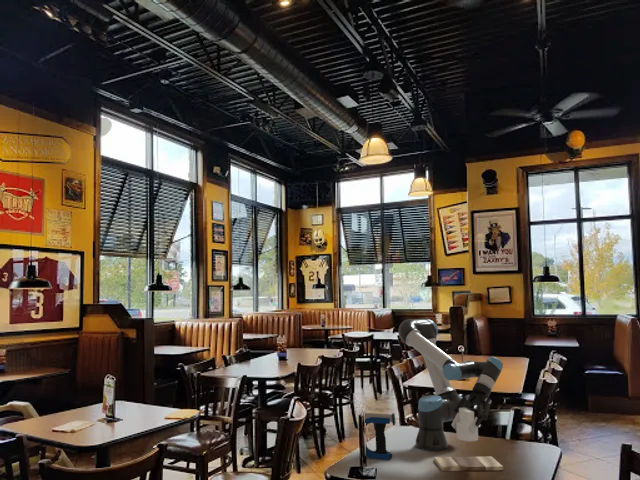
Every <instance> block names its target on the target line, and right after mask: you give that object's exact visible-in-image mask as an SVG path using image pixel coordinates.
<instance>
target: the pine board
mask: <svg viewBox="0 0 640 480" xmlns="http://www.w3.org/2000/svg"><path fill="white" fill-rule="evenodd" d="M433 461H434V463H435V464H436V466H438V467H439V469H440V470H441V471H442V472H469V471H472V472H473V471H474V472H476V471H504V465H502V464H501V463H500V462H499V461H497V460H496V459H495V458H494V457H493V456H489V455H488V456H487V455H486V456H484V455H483V456H434V457H433Z"/></svg>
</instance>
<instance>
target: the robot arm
mask: <svg viewBox="0 0 640 480" xmlns="http://www.w3.org/2000/svg"><path fill="white" fill-rule="evenodd" d="M397 330H398V336H399V338H400V340H401V341H402V342H403V343H404V344H406V345H407V346H408V347H412V348H414V349H415V350H416V351H417V352H419V354H421V355H422V358H423V360H424V363H425V366H426V369H427V372H428V375H429V377H430V380H431V382H432V383H431V384H432V385H433V386H432V387H433V390H434V391H435V393H434V394H430V395H424V396H421V397H420V398H419V399H418V406H417V410H418V432H417V435H416V439H415V447H416V448H417V449H420V450H423V451H429V452H440V451H445V450H447V449H448V441H447V438H446V435H445V432H444V423H447V422H452V423H451V426H452V428H453V429H454V430H456V423H457V422H459V408H467V409H470V408H471V407H473V406H476V407H477V416H474V421H473V423H472V425H471V427H470V429H469V430H470V431H471V432H472V433H473V434H474V433H475V431H476V429H477V426H478V428H479V427H480V425H481V423H482V421H487V420H488V417H489V413H490V408H491V406H492V404H493V401H492V400H491V397H490V395H491V394H492V391H493V389H494V386H495V385H496V382H497V381H498V379H499V376H500V375H501V372H502V370H503V369H504V364H503V362H502V361H501V360H500V359H499V358H497V357H495V356H490V357H488V358H487V359H486V361H479V360H478V361H477V360H464V361H463V362H458V361H456V359H454V358H453V357H451V356H450V355H448V354H447V353H445V352H444V350H442V349H441V348H439V347H437V344H436V343H437V341H438V338H437V337H438V335H439V329H438V326H437V324H436V323H435V322H434V321H433V320H431V319H429V318H409V319H404V320H403V321H402V322H401V323H400V325H399V327H398V329H397ZM473 378H477V379H476V381H475V383H474V386H473V387H472V390H471V393H470V394H467V393H464V394H463V395H460V394H458V393H457V390H456V389H455V388H454V387H452V384H451V382H450V381H459V380H464V379H466V380H467V379H473Z"/></svg>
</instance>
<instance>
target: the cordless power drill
mask: <svg viewBox="0 0 640 480" xmlns="http://www.w3.org/2000/svg"><path fill="white" fill-rule="evenodd" d="M364 413H365V423H366V426H367V425H369V424H373V428H374V429H373V430H374V431H375V432H374V434H375V436H374V437H375V450H371V449H370V448H369V447H368V446H367V444H366V455H365V457H367V458H369V459H372V460H383V461H384V460H385V461H390V460H391V459H392V458H393V453H391V451H388V450H387V439H386V435H385V429H386V425H387V424H388V425H390V424H391V423H392V425H393V426H395V425H396V423H397V422H396V414H395V413H394V412H392V414H389V413H388V414H387V413H375V412H374V413H373V412H364Z"/></svg>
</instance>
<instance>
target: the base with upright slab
mask: <svg viewBox="0 0 640 480" xmlns="http://www.w3.org/2000/svg"><path fill="white" fill-rule="evenodd" d="M474 419H475V411H473V410H471V409H470V408H468V409H467V408H459V422H457V423H456V429H455V430H456V439H458V440H460V441H462V442H463V441H464V442H477V441H478V440H479V427H478V426H477V429H476V431H475V433H474V434H473V433H472V432H471V431H470V430H469V429H470V427H471V425H472V423H473V421H474Z"/></svg>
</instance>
